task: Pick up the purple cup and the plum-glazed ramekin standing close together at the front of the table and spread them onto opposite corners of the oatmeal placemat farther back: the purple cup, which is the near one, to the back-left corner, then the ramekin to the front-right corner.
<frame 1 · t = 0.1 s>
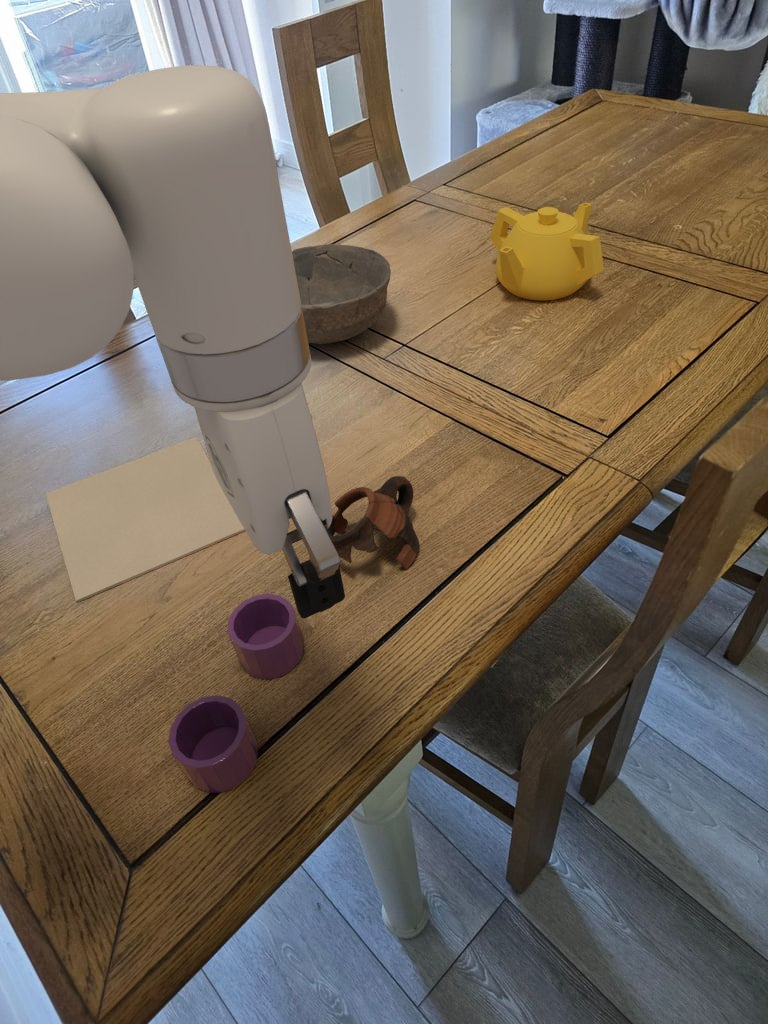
hand: (293, 559, 49), 21 cm above the table, tool pointing down, fingers open, 9 cm apart
bowl: (331, 332, 111), on the table
dish b: (271, 650, 69), on the table
purple cup: (222, 757, 61), on the table
teapot: (541, 282, 116), on the table
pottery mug: (380, 542, 78), on the table
placemat: (143, 511, 84), on the table
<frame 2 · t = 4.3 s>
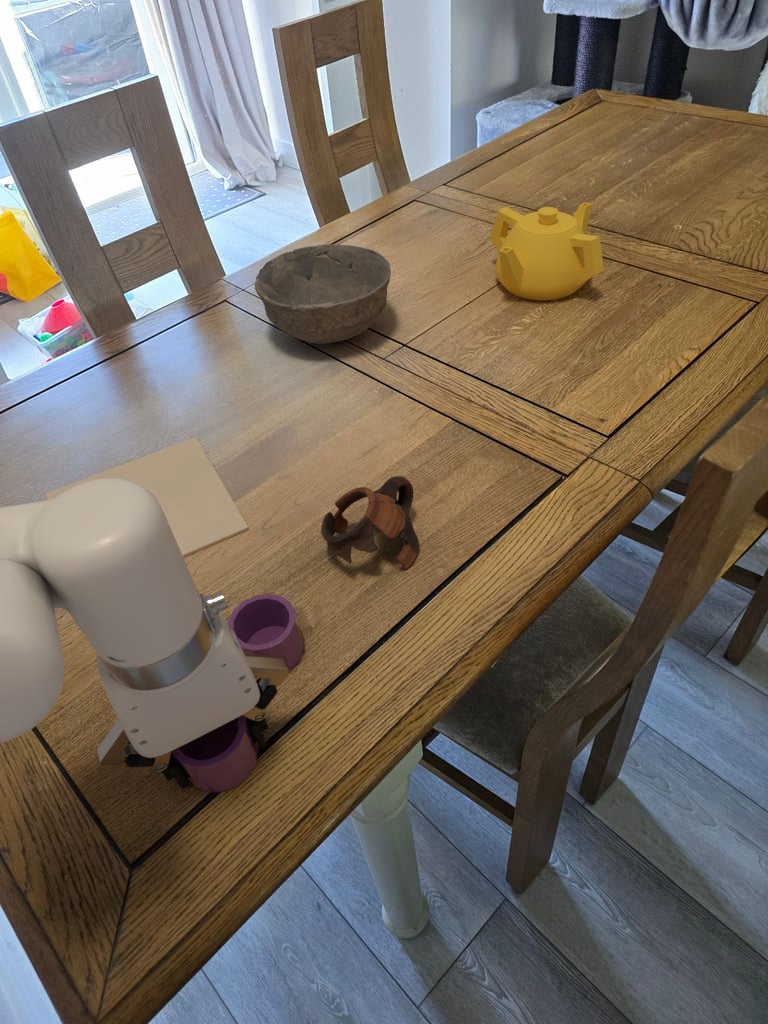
hand: (219, 752, 61), 1 cm above the table, tool pointing down, fingers closed on purple cup, 6 cm apart
purple cup: (222, 756, 61), on the table, touching gripper
everything else where it was.
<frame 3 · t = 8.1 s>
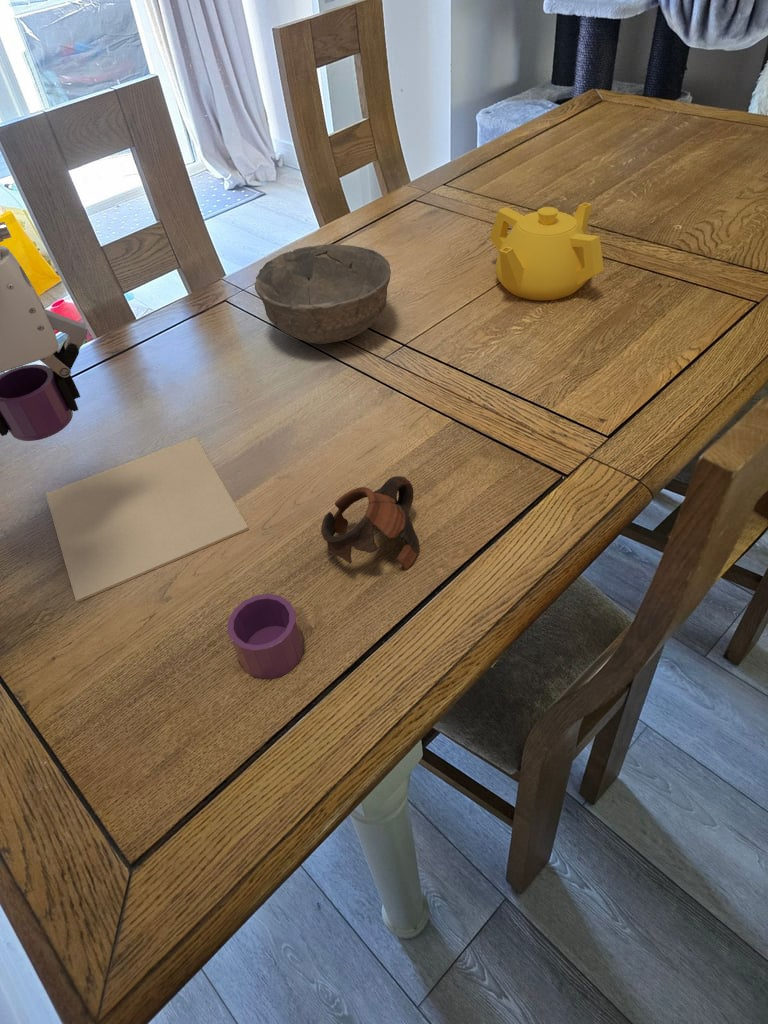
hand: (38, 415, 73), 16 cm above the table, tool pointing down, fingers closed on purple cup, 6 cm apart
purple cup: (42, 421, 73), point 15 cm above the table, touching gripper
everything else where it was.
when the fingers open (1 cm above the table, at t = 12.2 s): purple cup stays where it is, resting on placemat.
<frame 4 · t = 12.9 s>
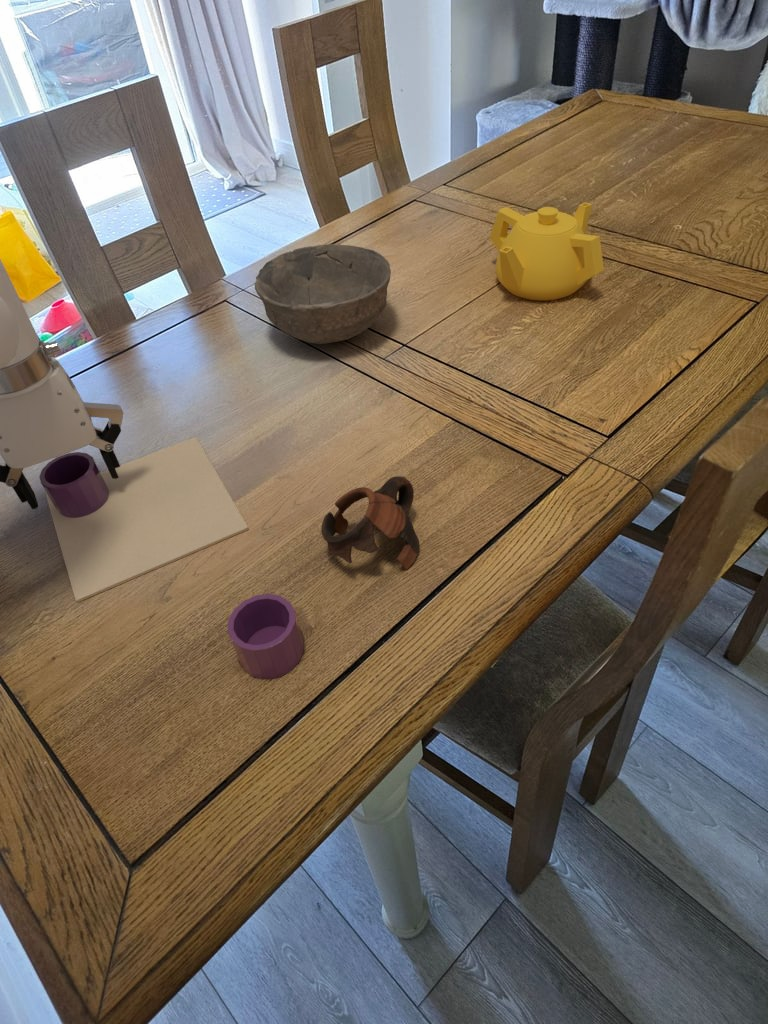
hand: (74, 487, 84), 3 cm above the table, tool pointing down, fingers open, 9 cm apart
purple cup: (83, 499, 86), resting on placemat
everything else where it was.
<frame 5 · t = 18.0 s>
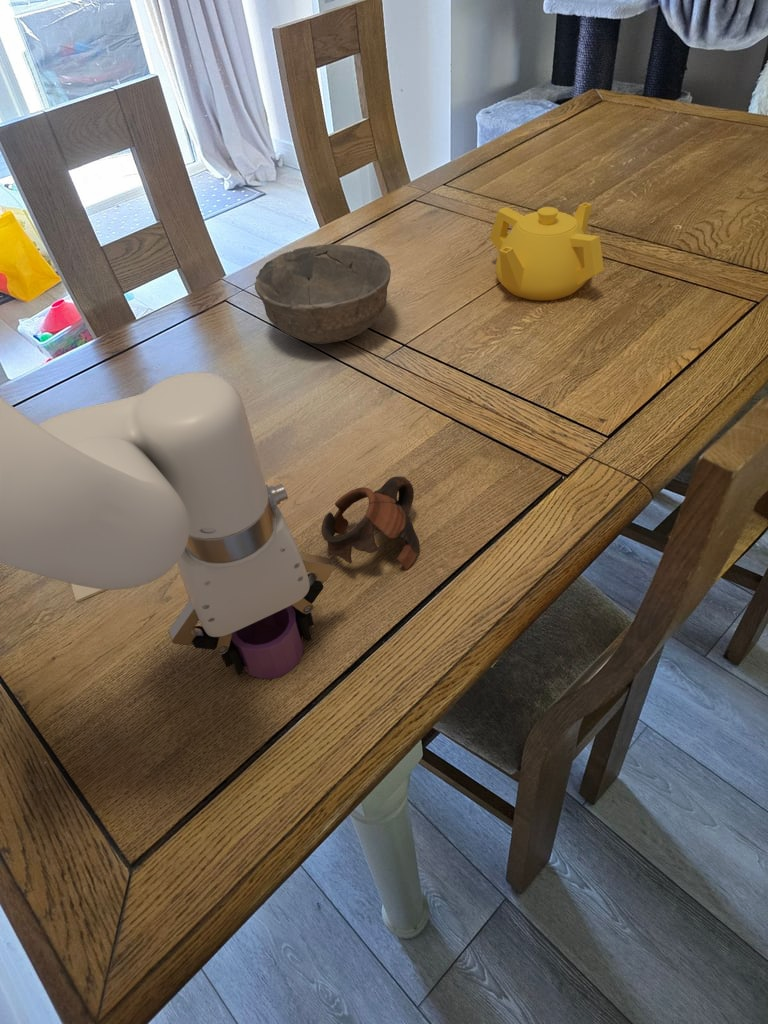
hand: (270, 645, 68), 1 cm above the table, tool pointing down, fingers closed on dish b, 6 cm apart
dish b: (271, 650, 69), on the table, touching gripper
everything else where it was.
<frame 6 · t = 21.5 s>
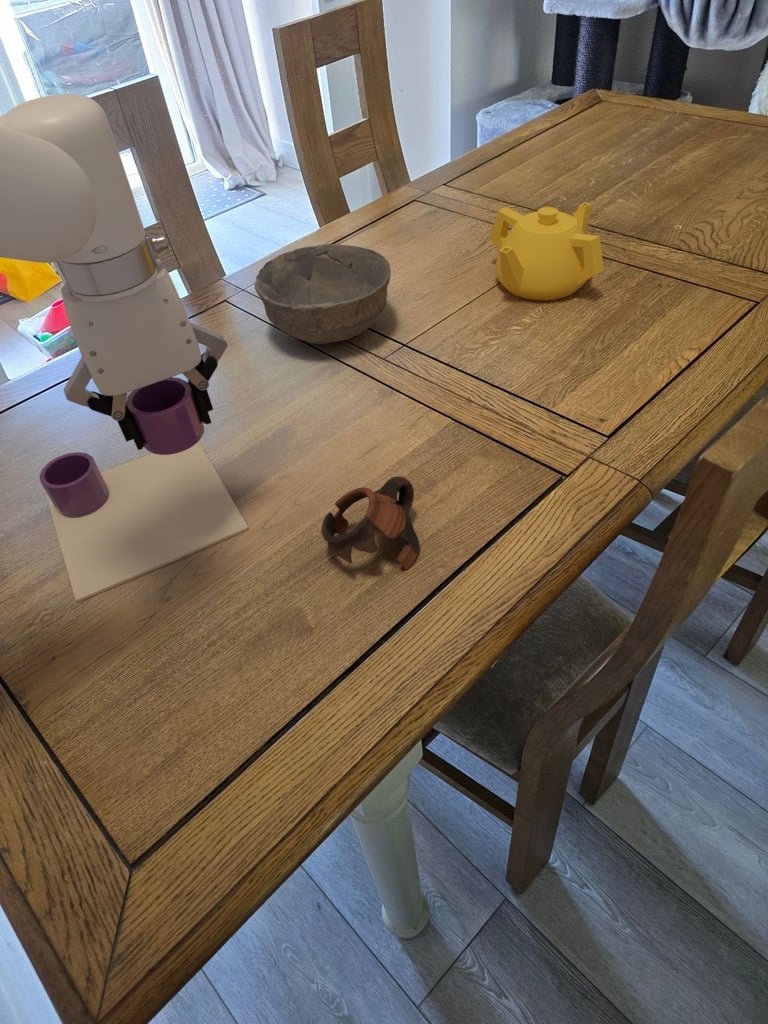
hand: (171, 428, 72), 14 cm above the table, tool pointing down, fingers closed on dish b, 6 cm apart
dish b: (173, 435, 72), point 14 cm above the table, touching gripper
everything else where it was.
when the fingers open (1 cm above the table, at t = 24.9 s): dish b stays where it is, resting on placemat.
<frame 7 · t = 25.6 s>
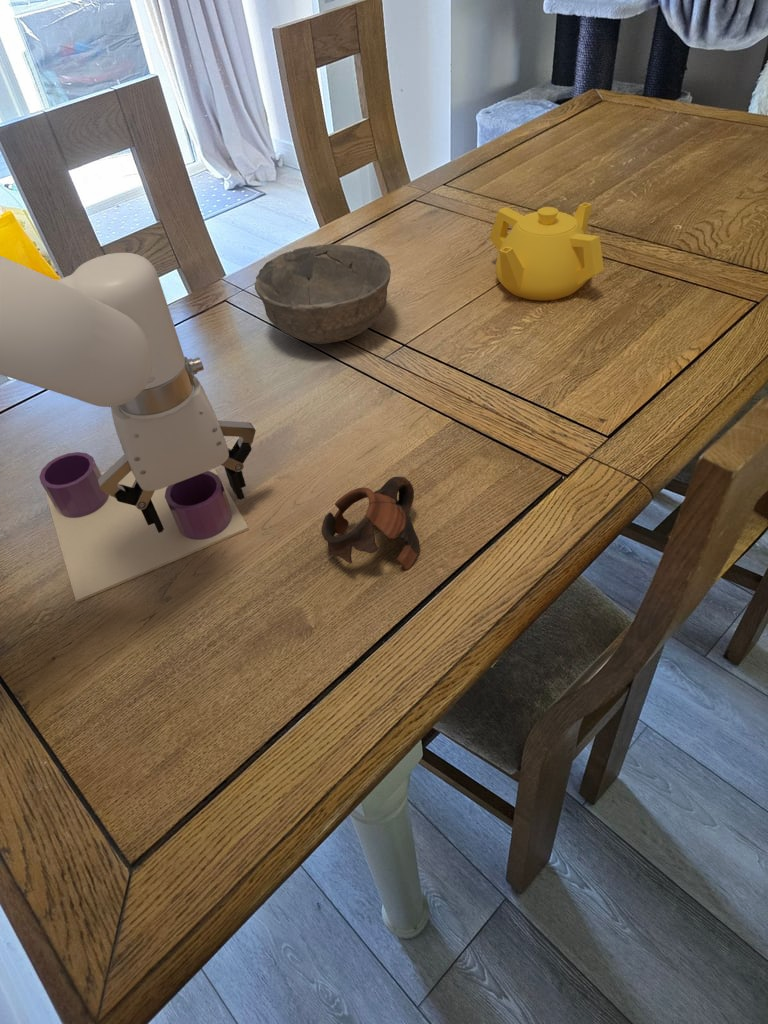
hand: (198, 508, 80), 3 cm above the table, tool pointing down, fingers open, 9 cm apart
dish b: (204, 519, 82), resting on placemat
everything else where it was.
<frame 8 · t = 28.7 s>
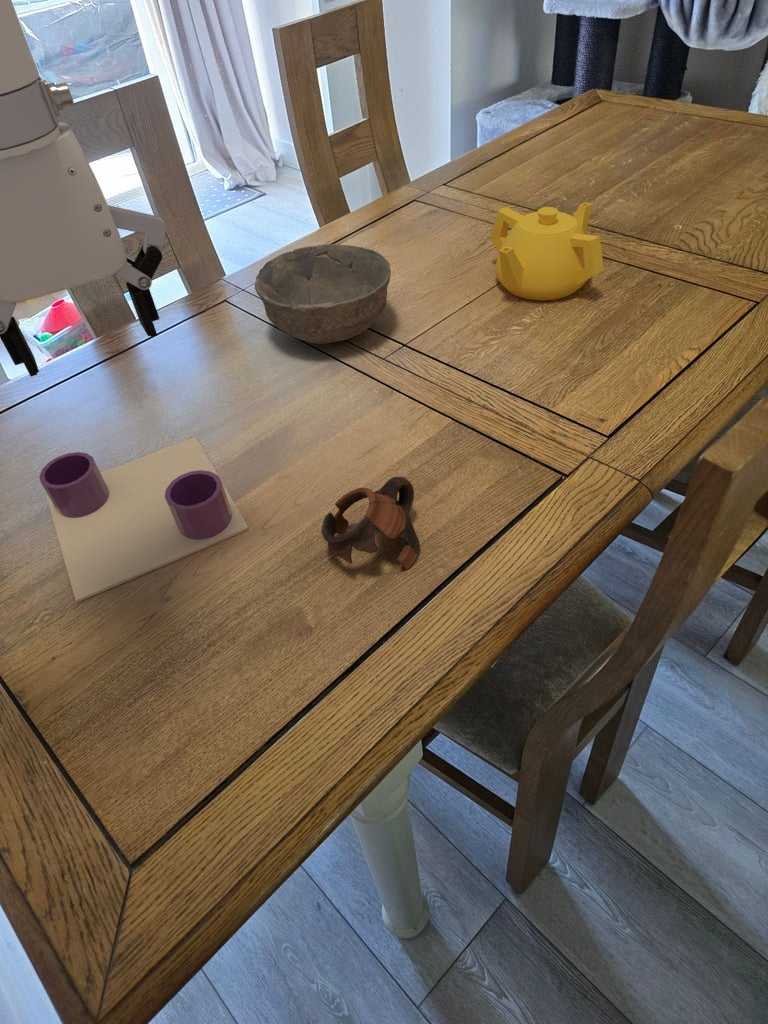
hand: (92, 348, 57), 28 cm above the table, tool pointing down, fingers open, 9 cm apart
nothing on the table moved.
at the end: purple cup 0.0 cm from the target spot on the placemat, point 0.4 cm above the placemat's base; dish b inside the target area on the placemat (0.0 cm from its centre), point 0.4 cm above the placemat's base; dish b tilted 0° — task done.
